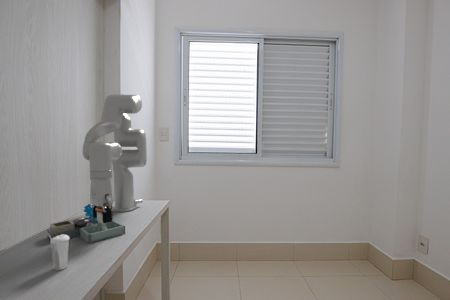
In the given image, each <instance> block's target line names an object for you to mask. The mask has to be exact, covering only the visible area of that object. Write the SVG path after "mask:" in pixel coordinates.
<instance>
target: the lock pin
mask: <svg viewBox="0 0 450 300" xmlns="http://www.w3.org/2000/svg"><path fill="white" fill-rule="evenodd" d="M105 208H106V206H105ZM96 211H97V222H96V225H97V232H100V231H104V230H108V223H103V214H102V212H103V208H102V206H101V207H96Z"/></svg>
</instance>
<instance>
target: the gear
mask: <svg viewBox="0 0 450 300" xmlns="http://www.w3.org/2000/svg"><path fill="white" fill-rule="evenodd" d="M83 208H84V210H83V213H85V217H88V218H90V221H91V220H93V222H95V223H97V218H93V208H94V207H93V204H91V203H88V204H87V205H85V206H84V207H83Z"/></svg>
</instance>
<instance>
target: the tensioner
mask: <svg viewBox="0 0 450 300" xmlns="http://www.w3.org/2000/svg"><path fill="white" fill-rule="evenodd" d="M93 225H96V224H95V223H93V222H91V220H90V218H89V217H79V218H76V219H74V220H70V219H68V220H62V221H59V222H53V223H50V224H49V226H50V227H49V228H48V229H47V230H46V231H47V233H46V234H47V236H46V237H47V238H48V239H49V241H51V239H50V237H49V235H48V233H49V234H50V236H51V238H54V237H56V236H59V235H61V234H64V235H68V236H69V238H70V239H74V238H78V237H80V228H84V227H88V226H93Z"/></svg>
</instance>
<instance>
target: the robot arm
mask: <svg viewBox="0 0 450 300" xmlns="http://www.w3.org/2000/svg"><path fill="white" fill-rule="evenodd" d="M142 107H143V101H142V97H141V96H140V95H139V94H117V93H116V94H109V95H107V96H106V97H105V99H104V102H103V107H102V113H101V118H100V121H98V122H97V123H96V124H95V125H93V126H92V127H91V128H90V129H89V130H88V131H87V132H86V134H85V136H84V141H83V145H82V156H83V158H84V160H87V161H89V179H90V190H89V194H90V196H89V197H90V198H89V201H90V204H91V205H93V207H94V208H93V219H95V218H97V211H96V207H101V206H102V208H103V212H102V214H103V223H108V222H112V221H113V212H115V213H125V212H131V211H135V210H136V209H137V208H138V204H141V203H143V202H144V201H143V199H142V198H140V199H135V197H134V196H135V195H134V194H135V193H134V188H135V187H134V175H133V172H131V170H130V168H143V167H145V166H146V165H147V161H148V159H147V158H148V157H147V156H148V154H147V150H148V149H147V137H146V136H147V135H146V131H144V130H143V129H140V128H137V129H136V128H132V119H131V118H130V116H129V115H130V114H131V115H132V114H133V115H134V114H137V113H139V112H140V111H141V110H142ZM128 114H129V115H128ZM111 133H113V140H114V142H113V141H103V142H102V141H100V142H99V141H97V140H98V139H100V138H101V137H104V136H105V135H109V134H111ZM123 148H136V149H123ZM111 179H113V188H112V180H111ZM112 189H113V190H114V191H113V190H112ZM113 193H114V196H113ZM113 197H114V200H113ZM113 204H114V206H113ZM105 206H106V208H105Z"/></svg>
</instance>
